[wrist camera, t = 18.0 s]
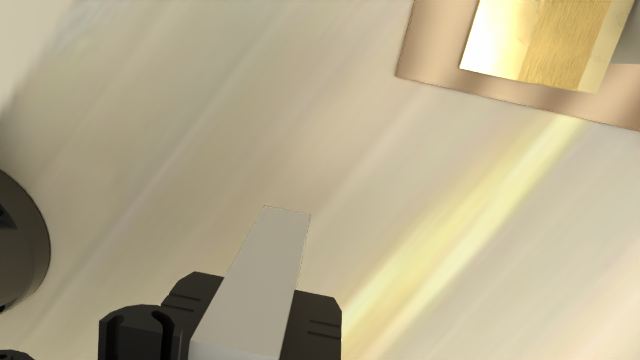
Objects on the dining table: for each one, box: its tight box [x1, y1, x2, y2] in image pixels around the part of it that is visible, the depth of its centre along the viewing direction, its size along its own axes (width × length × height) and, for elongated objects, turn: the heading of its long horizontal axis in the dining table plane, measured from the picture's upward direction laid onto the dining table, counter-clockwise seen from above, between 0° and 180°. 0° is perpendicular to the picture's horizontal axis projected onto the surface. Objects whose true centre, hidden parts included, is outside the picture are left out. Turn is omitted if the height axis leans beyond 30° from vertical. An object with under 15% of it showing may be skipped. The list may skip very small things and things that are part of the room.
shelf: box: [395, 0, 640, 131], centre depth 24 cm, size 24×12×12 cm, turn 78°
